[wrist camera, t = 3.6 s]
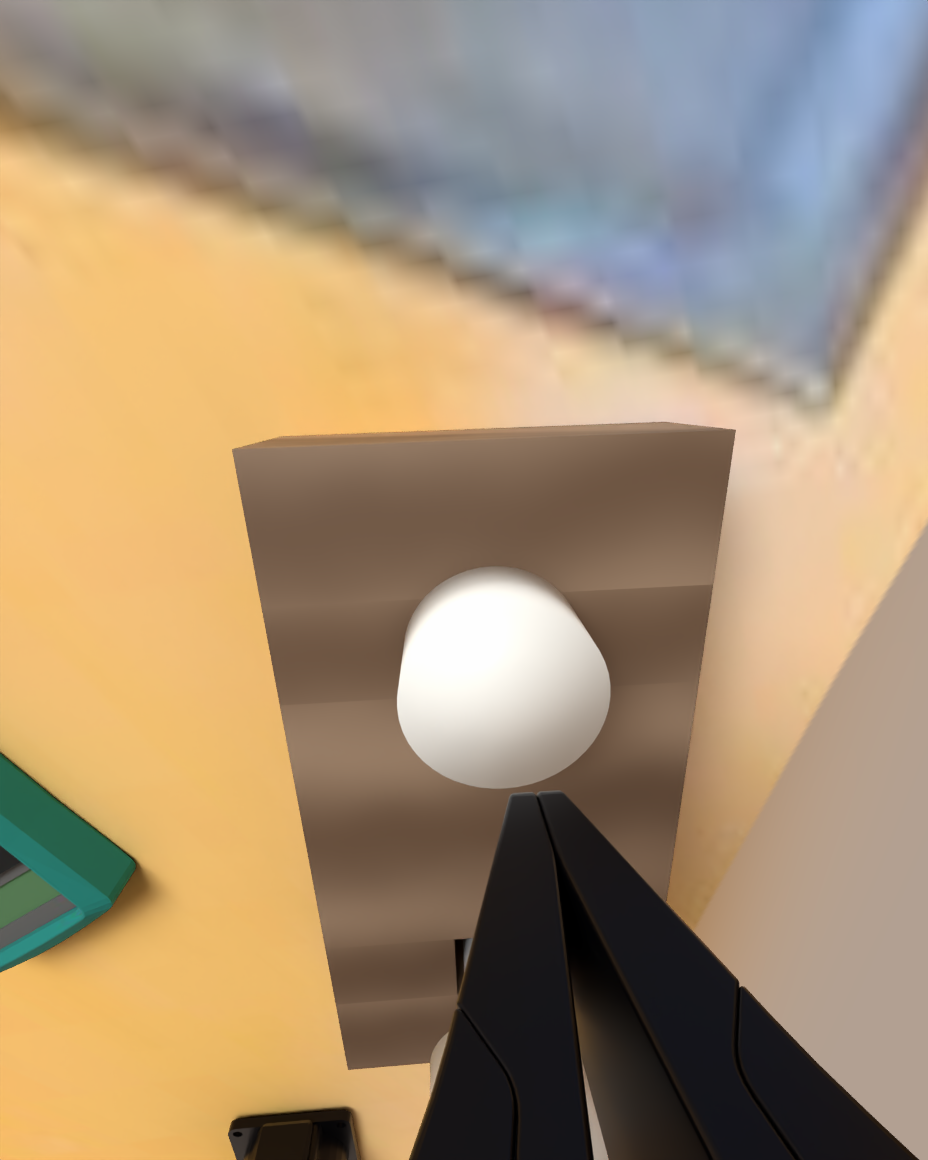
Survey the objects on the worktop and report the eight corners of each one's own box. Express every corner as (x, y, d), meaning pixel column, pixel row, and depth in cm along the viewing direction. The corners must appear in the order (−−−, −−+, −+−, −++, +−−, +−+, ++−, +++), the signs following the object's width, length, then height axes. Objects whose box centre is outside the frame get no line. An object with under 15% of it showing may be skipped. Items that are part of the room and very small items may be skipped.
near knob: (547, 652, 18) (603, 781, 12) (415, 659, 18) (404, 795, 12) (550, 523, 17) (617, 598, 11) (405, 530, 17) (388, 610, 10)
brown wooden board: (612, 944, 24) (645, 1044, 20) (361, 963, 24) (348, 1069, 20) (664, 422, 16) (735, 429, 12) (281, 436, 15) (232, 449, 12)
